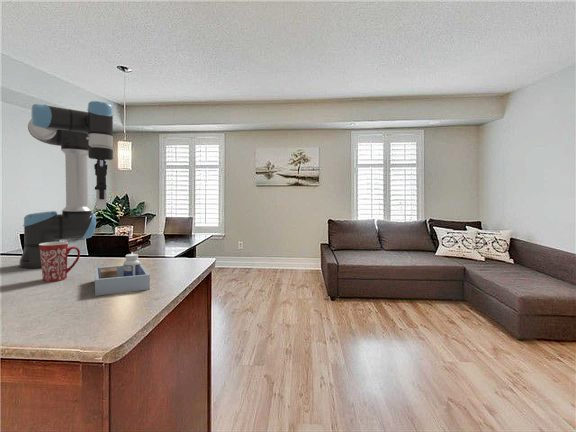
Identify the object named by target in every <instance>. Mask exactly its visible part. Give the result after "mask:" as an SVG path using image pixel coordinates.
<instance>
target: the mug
mask: <svg viewBox="0 0 576 432" xmlns="http://www.w3.org/2000/svg"><path fill="white" fill-rule="evenodd" d="M68 245H69V242H68V241H57V242H47V243H41V244H39V247H40V256H41V266H42V267H41V273H42V274H41V275H42V281H43V282H47V283H48V282H49V283H50V282H58V281H59V282H60V281H63V280H66V279H67V278H68V273H69V272H70V271H71V270H72V269H73V268H74V267H75V265H76V264H77V262H79V259H80V257H81V250H80V249H79V247H78V246H68ZM71 250H76V251H77V256H76V258H75V260H74V261H73V263H72V264H71V265H70V266H69V267H68V255H69V254H70V252H71Z"/></svg>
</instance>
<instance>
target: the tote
mask: <svg viewBox="0 0 576 432" xmlns="http://www.w3.org/2000/svg"><path fill="white" fill-rule="evenodd" d="M108 268H117V271H118V277H114V278H103V279H101V269H108ZM150 278H151V276H150V273H149V272H148V270H147V269H146V268H145V266H144V265H143V264H142V263H140V275H136V276H125V277H124V266H123V265H113V266H111V265H109V266H97V267H94V295H95V296H102V295H111V294H112V295H114V294H120V293H123V294H124V293H129V292H130V293H131V292H140V291H147V290H148V291H149V290H150V289H151V288H150V287H151V284H150V280H151V279H150Z"/></svg>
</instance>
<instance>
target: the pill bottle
mask: <svg viewBox="0 0 576 432" xmlns="http://www.w3.org/2000/svg"><path fill="white" fill-rule="evenodd" d="M138 259H139V255H138V253H128V254H126V255H125V261H124V262H123V265H122V266H124V277H125V276H136V275H140V264H141V261H140V260H138Z"/></svg>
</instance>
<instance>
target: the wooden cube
mask: <svg viewBox="0 0 576 432" xmlns="http://www.w3.org/2000/svg"><path fill="white" fill-rule="evenodd" d="M114 277H118V271H117V268H108V269H101V279H103V278H114Z"/></svg>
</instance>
